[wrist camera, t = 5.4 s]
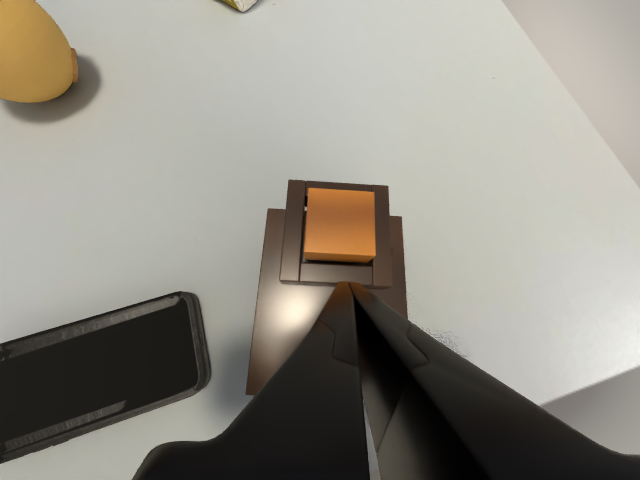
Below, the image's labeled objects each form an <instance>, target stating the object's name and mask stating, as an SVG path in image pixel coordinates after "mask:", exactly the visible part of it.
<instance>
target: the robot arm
mask: <svg viewBox="0 0 640 480" xmlns="http://www.w3.org/2000/svg"><path fill="white" fill-rule="evenodd" d="M362 394H363V395H362ZM363 398H364V402H365V407H366V411H367V416H368V420H369V424H370V429H371V433H372V437H373V442H374V446H375V450H376V453H377V459H378V464H379V470H380V476H381V480H640V455H630V454H622V453H618V452H615V451H612V450H610V449H608V448H606V447H604V446H601V445H599V444H598V443H596V442H594V441H592V440H591V439H589V438H588V437H586V436H584V435H583V434H581V433H580V432H578V431H577V430H575V429H573V428H572V427H570V426H569V425H567V424H566V423H564V422H563V421H561V420H560V419H558V418H556V417H555V416H553V415H552V414H550V413H548V412H547V411H546V410H544V409H542V408H541V407H539V406H538V405H536V404H535V403H533V402H532V401H530V400H528V399H527V398H525V397H524V396H522V395H521V394H519V393H517V392H516V391H514V390H513V389H511V388H510V387H508V386H507V385H505V384H503V383H502V382H500V381H499V380H497V379H496V378H494V377H493V376H491V375H489V374H488V373H486V372H485V371H483V370H482V369H480V368H479V367H477V366H475V365H474V364H472V363H471V362H469V361H468V360H466V359H465V358H463V357H461V356H460V355H458V354H457V353H455V352H454V351H452V350H451V349H449V348H447V347H446V346H444V345H443V344H441V343H440V342H438V341H437V340H435V339H434V338H432V337H431V336H430V335H428V334H427V333H425V332H424V331H423V330H421V329H420V328H419V327H417V326H416V325H415V324H412V323H411V322H410V321H409V320H407V319H406V318H405V317H403V316H402V315H401V314H399V313H398V312H397V311H395V310H394V309H393V308H391V307H390V306H389V305H387V304H386V303H385V302H383V301H382V300H381V299H379V298H378V297H377V296H375V295H374V294H373V293H371V292H370V291H369V290H367V289H366V288H365V287H363V286H362V285H361V284H359V283H358V282H347V281H338V283H337V285H336V286H335V288H334V290H333V292H332V293H331V295H330V297H329V298H328V300H327V302H326V304H325V305H324V307H323V309H322V311H321V312H320V314H319V316H318V318H317V319H316V321H315V322H314V324H313V326H312V327H311V329H310V330H309V332H308V333H307V335H306V336H305V337H304V338H303V340H302V341H301V342H300V343H299V345H298V346H297V347H296V348H295V349H294V350H293V352H292V353H291V354H290V355H289V356H288V357H287V359H286V360H285V361H284V362H283V363H282V365H281V366H280V367H279V368H278V369H277V370H276V372H275V373H274V374H273V375H272V376H271V377H270V379H269V380H268V381H267V382H266V383H265V385H264V386H263V387H262V388H261V389H260V390H259V392H258V393H257V394H256V395H255V396H254V397H253V399H252V400H251V401H250V402H249V403H248V404H247V406H246V407H245V408H244V409H243V410H242V412H241V413H240V414H239V415H238V416H237V417H236V419H235V420H234V421H233V422H232V423H231V424H230V426H229V427H228V428H227V429H226V430H225V431H224V432H223V433H222V434H220V435H218V436H217V437H215V438H213V439H210V440H208V441H200V442H198V441H175V442H168V443H164V444H161V445H159V446H157V447H155V448H154V449H152V450H151V451H150V452H149V453H148V455H147V456H146V458H145V459H144V461H143V462H142V464H141V466H140V467H139V468H138V470H137V472H136V474H135V475H134V477H133V479H132V480H370V474H369V462H368V451H367V440H366V429H365V417H364V406H363Z"/></svg>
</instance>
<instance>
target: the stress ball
mask: <svg viewBox="0 0 640 480" xmlns="http://www.w3.org/2000/svg"><path fill="white" fill-rule="evenodd" d="M77 80H78V66H77V54H76V51H75V49H73V48H71V47H70V45H69V43H68V41H67V39H66V37H65V35H64V34H63V32H62V31H61V29H60V28H59V26H58V25H57V24H56V22H55V21H54V20H53V19H52V17H51V16H50V15H49V14H48V13H47V12H46V11H45V10H44V9H43V8H42V7H41V6H40V5H39V4H38V3H37V2H36V1H35V0H0V99H5V100H9V101H16V102H24V103H36V102H44V101H48V100H51V99H54V98H56V97H58V96H60V95H61V94H63V93H64V92H65V91H66V90H67V89H68V88H69V87H70V85H71V83H72V81H74V82H77Z"/></svg>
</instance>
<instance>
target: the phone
mask: <svg viewBox="0 0 640 480" xmlns="http://www.w3.org/2000/svg"><path fill="white" fill-rule="evenodd" d="M209 378H210V366H209V360H208V354H207V348H206V342H205V336H204V330H203V324H202V318H201V312H200V306H199V301H198V298H197V297H196V296H195V295H194V294H192V293H188V292H182V291H179V292H174V293H171V294H167V295H164V296H161V297H157V298H154V299H150V300H147V301H144V302H140V303H137V304H133V305H130V306H127V307H123V308H120V309H116V310H113V311H110V312H106V313H103V314H99V315H96V316H93V317H89V318H86V319H83V320H79V321H76V322H72V323H69V324H66V325H62V326H59V327H55V328H52V329H49V330H45V331H42V332H38V333H35V334H32V335H28V336H25V337H21V338H18V339H15V340H11V341H8V342H5V343H1V344H0V464H1V463H4V462H7V461H10V460H13V459H16V458H19V457H22V456H24V455H27V454H29V453H32V452H33V453H34V452H37V451H40V450H42V449H45V448H48V447H50V446H52V445H53V446H55V445H57V444H60V443H63V442H66V441H68V440H69V439H72V438H75V437H78V436H80V435H83V434H86V433H89V432H92V431H95V430H97V429H100V428H103V427H106V426H109V425H112V424H114V423H117V422H120V421H123V420H126V419H128V418H131V417H134V416H137V415H140V414H143V413H145V412H148V411H151V410H154V409H157V408H160V407H162V406H165V405H168V404H171V403H174V402H177V401H179V400H182V399H185V398H188V397H191V396H193V395H194V394H196V393H198V392H199V391H200V390H202V389H203V388H204V387H205V386H206V385H207V383H208V381H209Z"/></svg>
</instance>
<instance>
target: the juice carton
mask: <svg viewBox="0 0 640 480" xmlns="http://www.w3.org/2000/svg"><path fill="white" fill-rule="evenodd" d="M222 1H223V2H225V3H227V4H229V5H230V6H232V7H234V8H236V9H238V10H239V11H241V12H244V11H246V10H247V9H248V8H250V7H251V6H252V5H253V4H254V3H256V2H257V1H258V0H222Z"/></svg>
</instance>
